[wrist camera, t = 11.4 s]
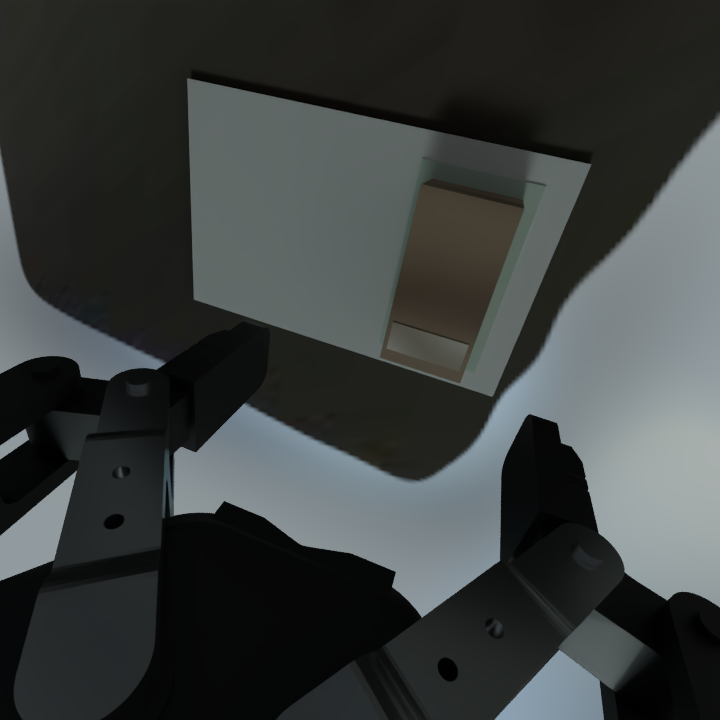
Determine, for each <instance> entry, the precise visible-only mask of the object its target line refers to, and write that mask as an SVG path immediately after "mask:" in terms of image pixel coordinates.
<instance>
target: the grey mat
mask: <svg viewBox="0 0 720 720" xmlns="http://www.w3.org/2000/svg"><path fill="white" fill-rule="evenodd" d="M187 82H188V115H189V149H190V182H191V216H192V249H193V283H194V300H197V301H200V302H203V303H207V304H210V305H213V306H216V307H219V308H222V309H225V310H228V311H231V312H234V313H237V314H240V315H243V316H246V317H249V318H253V319H256V320H259V321H262V322H265V323H268V324H271V325H274V326H277V327H280V328H283V329H286V330H289V331H292V332H295V333H299V334H302V335H305V336H308V337H311V338H314V339H317V340H320V341H323V342H326V343H329V344H332V345H335V346H338V347H341V348H345V349H348V350H351V351H354V352H357V353H360V354H363V355H366V356H369V357H372V358H375V359H378V360H381V361H384V362H387V363H391V364H394V365H397V366H400V367H403V368H406V369H409V370H412V371H415V372H418V373H421V374H424V375H427V376H430V377H433V378H437V379H440V380H443V381H446V382H449V383H452V384H455V385H458V386H461V387H464V388H467V389H470V390H473V391H476V392H479V393H483V394H486V395H489V396H492V397H493V394H494V392H495V390H496V387H497V385H498V383H499V380H500V378H501V376H502V373H503V371H504V369H505V366H506V364H507V361H508V359H509V357H510V354H511V352H512V350H513V347H514V345H515V343H516V340H517V338H518V336H519V333H520V331H521V329H522V326H523V324H524V321H525V319H526V317H527V314H528V312H529V310H530V307H531V305H532V303H533V300H534V298H535V296H536V293H537V291H538V289H539V286H540V284H541V282H542V279H543V277H544V274H545V272H546V270H547V267H548V265H549V263H550V260H551V258H552V256H553V253H554V251H555V249H556V246H557V244H558V242H559V239H560V237H561V234H562V232H563V230H564V227H565V225H566V223H567V220H568V218H569V216H570V213H571V211H572V209H573V206H574V204H575V202H576V199H577V197H578V194H579V192H580V190H581V187H582V185H583V183H584V180H585V178H586V176H587V173H588V171H589V169H590V166H591V164H587V163H582V162H578V161H573V160H568V159H564V158H559V157H554V156H550V155H545V154H540V153H536V152H531V151H526V150H521V149H517V148H512V147H507V146H503V145H498V144H493V143H489V142H484V141H479V140H475V139H470V138H465V137H461V136H456V135H451V134H446V133H442V132H437V131H432V130H428V129H423V128H418V127H414V126H409V125H404V124H400V123H395V122H390V121H385V120H381V119H376V118H371V117H367V116H362V115H357V114H353V113H348V112H343V111H339V110H334V109H329V108H324V107H320V106H315V105H310V104H306V103H301V102H296V101H292V100H287V99H282V98H278V97H273V96H268V95H263V94H259V93H254V92H249V91H245V90H240V89H235V88H231V87H226V86H221V85H217V84H212V83H207V82H203V81H198V80H193V79H188V78H187ZM431 179H436V180H440V181H445V182H449V183H453V184H457V185H462V186H466V187H470V188H474V189H478V190H483V191H487V192H491V193H495V194H500V195H504V196H508V197H512V198H517V199H521V200H523V202H524V211H523V214H522V217H521V220H520V222H519V225H518V228H517V230H516V233H515V236H514V239H513V241H512V244H511V247H510V249H509V252H508V255H507V257H506V260H505V263H504V266H503V268H502V271H501V274H500V276H499V279H498V282H497V285H496V287H495V290H494V293H493V295H492V298H491V301H490V304H489V306H488V309H487V312H486V314H485V317H484V320H483V323H482V325H481V328H480V331H479V333H478V336H477V339H476V342H475V344H474V347H473V350H472V352H471V355H470V358H469V361H468V363H467V366H466V369H465V371H464V374H463V377H462V380H461V382H460V383H457V382H453V381H450V380H447V379H444V378H441V377H438V376H435V375H432V374H429V373H426V372H423V371H420V370H417V369H414V368H410V367H407V366H404V365H401V364H398V363H395V362H392V361H389V360H386V359H383V358H380V354H381V350H382V346H383V342H384V338H385V333H386V329H387V325H388V321H389V317H390V312H391V308H392V304H393V300H394V296H395V292H396V287H397V283H398V279H399V275H400V271H401V266H402V262H403V258H404V254H405V250H406V245H407V241H408V237H409V233H410V229H411V224H412V220H413V216H414V212H415V208H416V203H417V199H418V195H419V191H420V187H421V184H422V183H424V182H426V181H429V180H431Z"/></svg>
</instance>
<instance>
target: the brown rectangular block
mask: <svg viewBox="0 0 720 720" xmlns="http://www.w3.org/2000/svg"><path fill="white" fill-rule="evenodd" d="M523 211H524V202H523V200H521V199H517V198H512V197H508V196H504V195H500V194H495V193H491V192H487V191H483V190H478V189H474V188H470V187H466V186H462V185H457V184H453V183H449V182H445V181H440V180H436V179H431V180H429V181H426V182H424V183H422V184H421V187H420V191H419V195H418V199H417V203H416V208H415V212H414V216H413V220H412V224H411V229H410V233H409V237H408V241H407V245H406V250H405V254H404V258H403V262H402V266H401V271H400V275H399V279H398V283H397V287H396V292H395V296H394V300H393V304H392V308H391V312H390V317H389V321H388V325H387V329H386V333H385V338H384V342H383V346H382V350H381V354H380V358H383V359H386V360H389V361H392V362H395V363H398V364H401V365H404V366H407V367H410V368H414V369H417V370H420V371H423V372H426V373H429V374H432V375H435V376H438V377H441V378H444V379H447V380H450V381H453V382H457V383H460V382H461V380H462V377H463V374H464V371H465V369H466V366H467V363H468V361H469V358H470V355H471V352H472V350H473V347H474V344H475V342H476V339H477V336H478V333H479V331H480V328H481V325H482V323H483V320H484V317H485V314H486V312H487V309H488V306H489V304H490V301H491V298H492V295H493V293H494V290H495V287H496V285H497V282H498V279H499V276H500V274H501V271H502V268H503V266H504V263H505V260H506V257H507V255H508V252H509V249H510V247H511V244H512V241H513V239H514V236H515V233H516V230H517V228H518V225H519V222H520V220H521V217H522V214H523Z"/></svg>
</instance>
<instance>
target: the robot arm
mask: <svg viewBox="0 0 720 720" xmlns="http://www.w3.org/2000/svg"><path fill="white" fill-rule="evenodd" d="M269 340H270V331H269V328H267V327H265V326H262V325H258V324H255V323H252V322H249V321H243V322H241V323H240V324H238V325H237V326H236V327H234V328H233V329H231V330H230V331H227V330H223V331H220V332H216V333H213V334H210V335H208V336H206V337H205V338H203V339H202V340H200V341H199V342H198V344H194V345H193V346H191V347H190V348H189V350H185V351H184V352H182V353H181V354H179V355H178V356H176V357H175V358H173V359H172V360H170V361H169V362H167V363H166V364H164V365H163V366H161V367H160V368H159V369H157V370H154V369H148V368H138V369H131V370H127V371H124V372H121V373H119V374H117V375H115V376H114V377H113V378H111V379H110V381H106V380H99V379H91V378H83V377H81V375H80V370H79V366H78V364H77V363H76V362H75V361H73V360H72V359H69V358H66V357H59V356H47V357H40V358H35V359H31V360H28V361H25V362H23V363H21V364H19V365H17V366H15V367H13V368H11V369H9V370H7V371H5V372H3V373H1V374H0V445H1V444H3V443H4V442H6V441H7V440H9V439H10V438H11V437H13V436H15V435H16V434H18V433H19V432H21V431H22V430H24V429H26V431H27V434H28V437H29V440H28V441H26V442H25V443H24V444H22V445H21V446H19V447H18V448H17V449H15V450H13V451H12V452H11V453H9V454H8V455H6V456H5V457H3V458H2V459H0V535H1V534H3V533H4V532H5V531H6V530H7V529H9V528H10V527H11V526H12V525H13V524H14V523H16V522H17V521H18V520H19V519H20V518H21V517H23V516H24V515H25V514H26V513H27V512H28V511H30V510H31V509H32V508H33V507H34V506H36V505H37V504H38V503H39V502H40V501H41V500H42V499H44V498H45V497H46V496H47V495H48V494H50V493H51V492H52V491H53V490H54V489H55V488H57V487H58V486H59V485H60V484H61V483H63V482H64V481H65V480H66V479H67V478H68V477H70V476H71V475H72V474H73V473H74V472H75V471H77V473H76V477H75V481H74V485H73V489H72V493H71V497H70V501H69V505H68V508H67V513H66V516H65V520H64V524H63V528H62V532H61V536H60V540H59V544H58V548H57V551H56V555H55V559H54V561H51V562H49V563H46V564H43V565H41V566H38V567H36V568H33V569H30V570H28V571H25V572H23V573H20V574H17V575H15V576H12V577H9V578H7V579H4V580H1V581H0V720H495V718H496V717H497V716H498V715H499V714H500V713H501V712H502V711H503V710H504V709H505V707H506V706H507V705H508V704H509V703H510V702H511V701H512V700H513V699H514V698H515V697H516V695H517V694H518V693H519V692H520V691H521V690H522V689H523V688H524V687H525V686H526V685H527V684H528V683H529V681H531V679H532V678H533V677H534V676H535V675H536V674H537V673H538V672H539V671H540V670H541V669H542V668H543V667H544V665H545V664H546V663H547V662H548V661H549V660H550V659H551V658H552V657H553V656H554V655H555V654H556V653H557V652H558V650H561V651H562V652H563V653H565V654H566V655H567V656H569V657H570V658H571V659H572V660H574V661H575V662H576V663H578V664H579V665H580V666H582V667H583V668H584V669H586V670H587V671H588V672H590V673H591V674H592V675H593V676H595V677H596V678H597V679H599V680H600V688H601V697H602V705H603V714H604V720H720V608H719V607H718V606H717V605H715V604H714V603H712V602H710V601H709V600H707V599H705V598H703V597H701V596H699V595H696V594H693V593H689V592H679V593H676V594H674V595H673V596H672V597H671V598H670V599H669V600H668V601H667V600H665V599H664V598H662V597H661V596H659V595H658V594H656V593H654V592H653V591H651V590H650V589H648V588H647V587H645V586H643V585H642V584H640V583H638V582H637V581H636V580H634V579H632V578H631V577H630V576H628V575H627V574H626V573H625V572H624V565H623V562H622V559H621V557H620V556H619V554H618V552H617V551H616V550H615V548H614V547H613V546H612V545H611V544H610V543H609V542H608V541H607V540H606V539H605V538H604V537H603V536H601V535H600V534H599V533H598V528H597V524H596V520H595V516H594V511H593V507H592V502H591V498H590V494H589V492H588V485H587V481H586V479H585V477H586V476H585V472H584V468H583V463H582V461H581V460H580V458H579V457H578V455H577V454H576V453H575V451H574V450H573V449H572V447H571V446H567V445H565V444H562V443H561V440H560V435H559V429H558V425H557V423H555V422H552V421H549V420H546V419H542V418H540V417H537V416H534V415H531V414H529V415H528V416H527V417H526V418H525V420H524V422H523V424H522V426H521V428H520V430H519V432H518V433H517V435H516V437H515V439H514V441H513V444H512V445H511V447H510V449H509V451H508V453H507V456H506V458H505V461H504V464H503V468H502V476H501V481H502V482H501V538H500V561H499V562H498V563H497V564H495V565H493V566H492V567H491V568H490V569H488V570H487V571H485V572H484V573H483V574H481V575H480V576H478V577H477V578H476V579H474V580H473V581H472V582H470V583H469V584H468V585H466V586H465V587H463V588H462V589H461V590H459V591H458V592H457V593H455V594H454V595H452V596H451V597H450V598H449V599H447V600H446V601H444V602H443V603H442V604H440V605H439V606H437V607H436V608H435V609H433V610H432V611H431V612H429V613H428V614H427V615H425V616H424V617H423V618H422V617H421V616H420V614H419V613H418V612H417V610H416V609H415V608H414V607H413V606H412V605H411V603H410V602H409V601H408V600H407V599H405V598H404V597H403V596H402V595H401V594H400V593H399V592H398V591H396V590H395V589H394V588H392V584H393V580H394V577H395V573H396V572H395V571H392V570H390V569H387V568H385V567H382V566H380V565H377V564H375V563H373V562H370V561H368V560H366V559H363V558H361V557H358V556H356V555H353V554H351V553H344V552H337V551H331V550H325V549H318V548H312V547H306V546H303V545H300V544H298V543H297V542H296V541H294V540H293V539H292V538H290V537H289V536H287V535H286V534H285V533H284V532H282V531H281V530H280V529H278V528H277V527H276V526H274V525H273V524H272V523H270V522H269V521H268V520H266V519H265V518H264V517H261V516H259V515H256V514H254V513H251V512H249V511H247V510H244V509H242V508H239V507H237V506H235V505H232V504H230V503H227V502H225V501H224V502H223V503H222V505H221V506H220V507H219V509H218V510H217V511H216V512H215V514H212V513H187V514H181V515H175V516H174V452H175V451H177V450H178V449H179V448H180V447H184V448H186V449H189V450H191V451H194V452H197V451H198V450H199V448H200V447H202V446H203V444H204V443H205V442H206V441H207V440H208V439H209V438H210V437H211V436H212V435H213V434H214V433H215V432H216V431H217V430H218V429H219V428H220V427H221V426H222V425H223V424H224V423H225V422H226V421H227V420H228V419H229V418H230V417H231V416H232V415H233V414H234V413H235V412H236V411H237V410H238V409H239V408H240V407H241V406H242V405H243V404H244V403H245V402H246V401H247V400H248V399H249V398H250V397H251V396H252V395H253V394H254V393H255V392H256V391H257V390H258V389H259V387H260V386H261V385H262V383H263V381H264V379H265V376H266V372H267V364H268V352H269Z"/></svg>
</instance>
